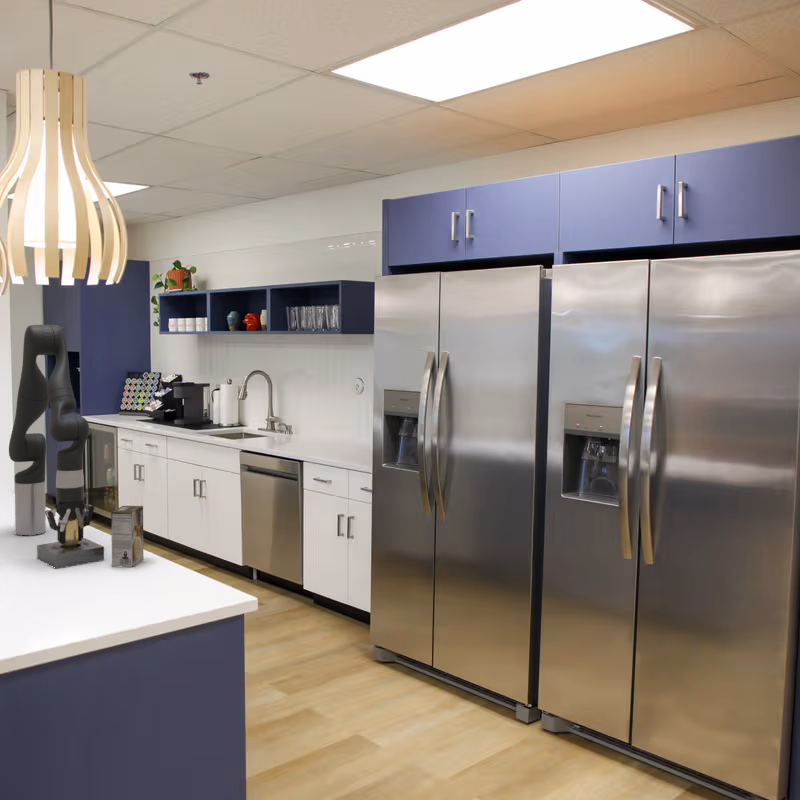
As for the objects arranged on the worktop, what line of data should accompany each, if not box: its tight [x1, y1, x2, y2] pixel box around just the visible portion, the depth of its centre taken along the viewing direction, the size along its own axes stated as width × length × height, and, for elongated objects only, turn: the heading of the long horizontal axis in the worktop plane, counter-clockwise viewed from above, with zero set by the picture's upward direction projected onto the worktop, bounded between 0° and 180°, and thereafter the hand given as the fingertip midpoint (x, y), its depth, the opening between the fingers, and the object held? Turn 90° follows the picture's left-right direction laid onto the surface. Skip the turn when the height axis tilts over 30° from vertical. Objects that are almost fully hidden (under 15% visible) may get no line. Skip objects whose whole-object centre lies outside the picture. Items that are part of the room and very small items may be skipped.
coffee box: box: [110, 505, 144, 568], centre depth 233 cm, size 9×6×16 cm
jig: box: [36, 537, 105, 569], centre depth 235 cm, size 14×14×4 cm
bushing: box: [63, 519, 79, 549], centre depth 235 cm, size 4×4×10 cm
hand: (70, 541), depth 235 cm, fingers closed on bushing, 4 cm apart
